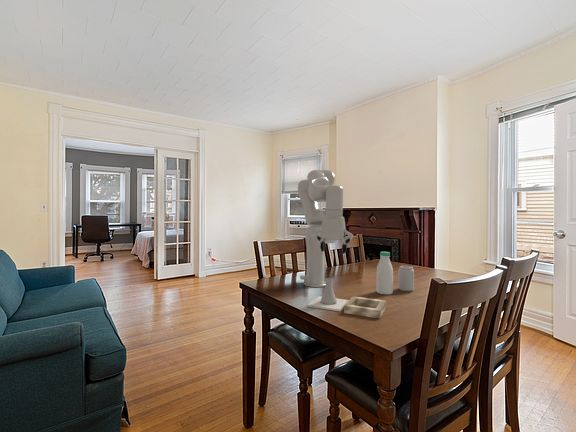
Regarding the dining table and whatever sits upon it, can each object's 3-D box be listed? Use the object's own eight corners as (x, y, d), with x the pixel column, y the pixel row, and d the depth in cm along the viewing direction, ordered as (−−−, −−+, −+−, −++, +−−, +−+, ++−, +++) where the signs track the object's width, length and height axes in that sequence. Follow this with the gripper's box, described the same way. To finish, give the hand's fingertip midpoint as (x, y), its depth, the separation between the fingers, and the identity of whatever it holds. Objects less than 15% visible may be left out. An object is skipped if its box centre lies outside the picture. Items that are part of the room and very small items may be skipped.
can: (413, 288, 159) (413, 265, 159) (414, 292, 152) (414, 268, 151) (398, 287, 161) (398, 264, 161) (398, 291, 154) (398, 267, 154)
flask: (318, 299, 137) (319, 277, 137) (334, 299, 138) (335, 277, 137) (321, 305, 130) (321, 281, 130) (338, 304, 130) (338, 281, 130)
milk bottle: (393, 295, 147) (394, 253, 146) (376, 294, 149) (377, 252, 148) (391, 291, 155) (392, 251, 154) (375, 290, 156) (376, 250, 155)
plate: (307, 306, 130) (307, 304, 130) (318, 297, 143) (318, 295, 143) (339, 311, 124) (339, 309, 124) (348, 301, 137) (348, 300, 137)
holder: (343, 313, 123) (344, 305, 123) (352, 303, 135) (352, 296, 135) (380, 318, 117) (380, 310, 116) (385, 307, 129) (386, 300, 129)
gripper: (312, 213, 137) (312, 251, 138) (350, 214, 129) (350, 255, 130) (318, 212, 144) (318, 249, 145) (355, 213, 136) (354, 252, 137)
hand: (333, 252), depth 137 cm, fingers open, 9 cm apart
